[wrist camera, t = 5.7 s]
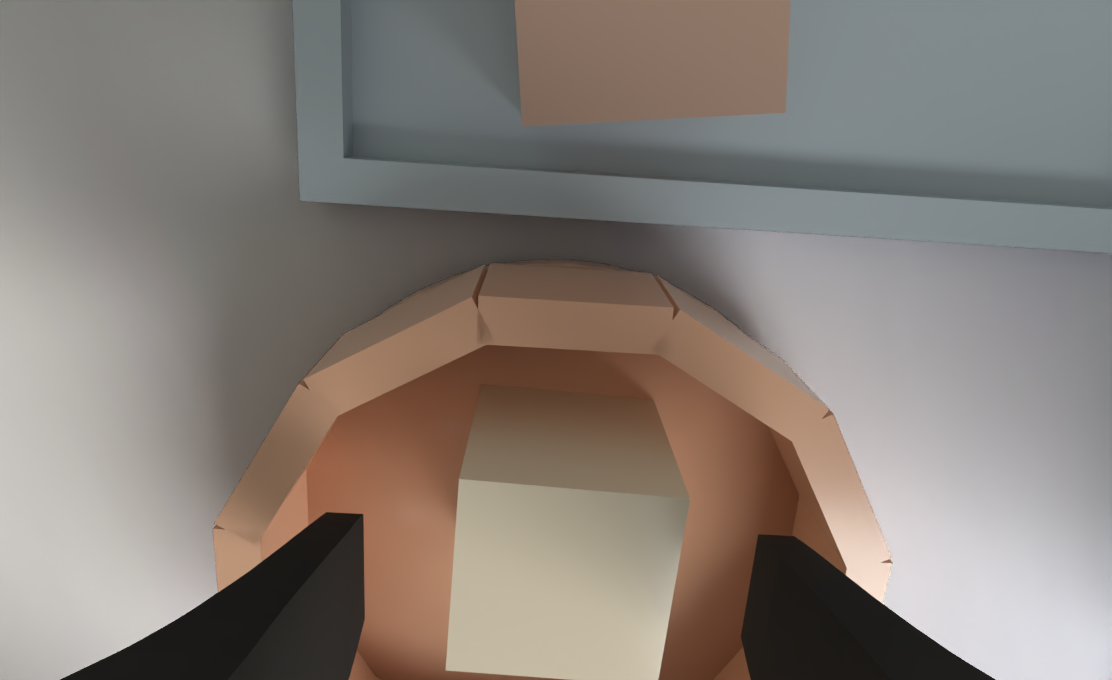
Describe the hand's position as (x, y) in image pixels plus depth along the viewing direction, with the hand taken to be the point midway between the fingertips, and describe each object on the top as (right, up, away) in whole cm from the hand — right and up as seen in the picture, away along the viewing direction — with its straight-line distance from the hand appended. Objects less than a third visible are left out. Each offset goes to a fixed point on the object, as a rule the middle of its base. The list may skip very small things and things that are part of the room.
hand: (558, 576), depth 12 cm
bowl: (0, 0, +4) cm, 4 cm away
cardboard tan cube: (+1, +10, +1) cm, 10 cm away
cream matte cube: (0, +1, +3) cm, 3 cm away
